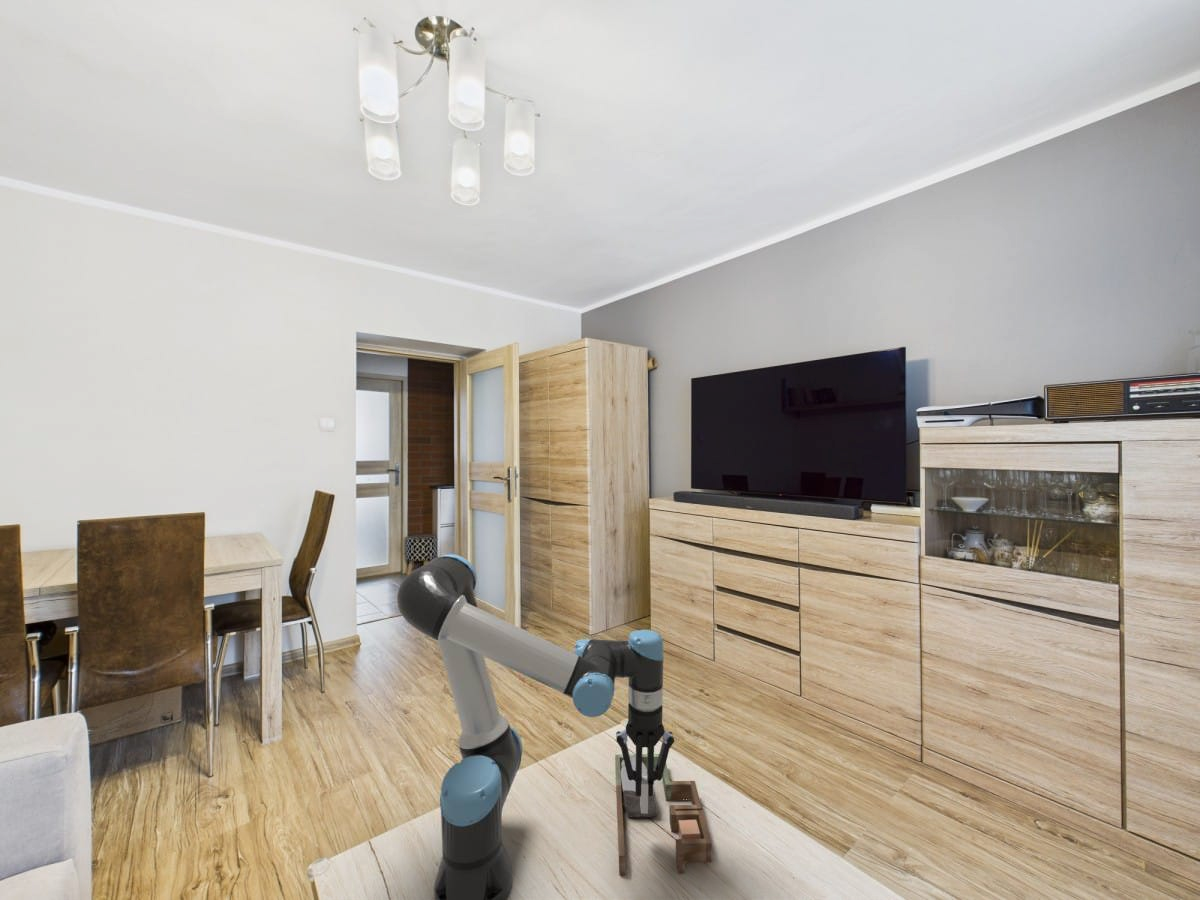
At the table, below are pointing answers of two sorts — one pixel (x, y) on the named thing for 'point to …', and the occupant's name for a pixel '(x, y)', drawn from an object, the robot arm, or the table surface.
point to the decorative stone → (629, 794)
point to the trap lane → (671, 817)
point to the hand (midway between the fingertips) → (643, 808)
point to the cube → (688, 829)
